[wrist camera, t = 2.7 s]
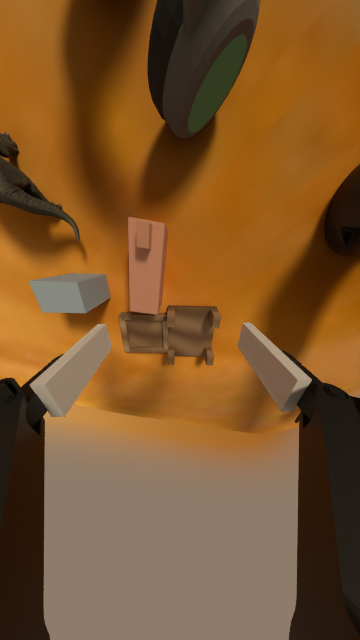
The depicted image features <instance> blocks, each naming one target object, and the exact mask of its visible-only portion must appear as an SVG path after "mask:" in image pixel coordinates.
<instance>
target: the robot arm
mask: <svg viewBox="0 0 360 640" xmlns="http://www.w3.org/2000/svg"><path fill="white" fill-rule="evenodd" d="M325 235H326V239H327V242H328V244H329V246H330V247H331V249H332V250H334V251H335V252H337V253H339V254H341V255H348V256H360V165H359V166H358V167H357V168H356V169H355V170H354V171H353V172H352V173H351V174H350V175H349V176H348V177H347V179H346V180H345V181H344V182H343V184H342V185H341V187H340V188H339V190H338V191H337V193H336V195H335V197H334V199H333V201H332V203H331V205H330V208H329V211H328V214H327V218H326V224H325ZM238 348H239V349H240V351H241V352H242V354H243V355H244V357H245V358H246V360H247V361H248V363H249V364H250V366H251V367H252V369H253V370H254V372H255V373H256V375H257V376H258V378H259V379H260V381H261V382H262V384H263V385H264V387H265V388H266V390H267V391H268V393H269V394H270V396H271V397H272V399H273V400H274V402H275V403H276V405H277V406H278V408H279V409H280V411H281V412H283V411H294V409H295V407H296V406H298V407H299V408H300V409H301V412H300V414H299V415H298V417H297V418H296V420H295V423H298V421H299V481H298V546H297V600H296V608H295V612H294V615H293V618H292V621H291V626H290V633H289V640H360V398H357V397H352V396H349V395H348V394H347V393H346V392H344V391H343V390H341V389H340V388H338V387H336V386H334V385H331V384H328V383H322V382H321V381H320V380H319V379H318V378H316V377H315V376H314V375H313V374H312V373H311V372H310V371H309V370H307V369H306V368H305V367H304V366H302V364H301V363H300V362H298V361H297V360H296V359H295V358H294V357H293V356H292V355H290V354H288V353H287V352H285V351H281V350H279V349H278V348H277V347H276V346H275V345H274V344H273V343H272V342H271V341H270V340H269V339H268V338H267V337H265V336H264V335H263V334H262V333H261V332H260V331H259V330H258V329H257V328H256V327H255V326H254V325H253V324H251V323H243V325H242V329H241V333H240V338H239V342H238ZM111 349H112V345H111V341H110V338H109V334H108V330H107V326H106V324H97V325H96V326H95V327H94V328H93V329H92V330H91V331H89V332H88V333H87V334H86V335H85V336H84V337H83V338H82V339H80V340H79V341H78V342H77V343H76V344H75V345H74V346H73V347H71V348H70V349H69V350H68V351H67V352H66V353H65V354H62V355H60V356H58V357H56V358H55V359H53V360H52V361H51V362H50V363H49V364H47V366H45V367H44V368H43V369H42V371H39V372H38V373H37V374H36V375H35V376H33V377H32V378H31V379H30V380H29V381H28V382H26V383H25V384H24V385H23V386H22V387H20V386H19V385H18V383H17V382H16V381H15V379H13V378H4V379H1V380H0V640H50V637H49V633H48V631H47V628H46V625H45V622H44V613H43V612H44V611H43V590H44V589H43V586H44V579H43V578H44V444H45V439H44V437H45V428H44V427H45V420H44V418H43V416H44V414H45V413H46V412H47V411H48V412H49V414H50V415H51V416H52V417H63V416H65V415H66V414H67V413H68V411H69V410H70V408H71V407H72V405H73V404H74V402H75V401H76V400H77V398H78V397H79V395H80V394H81V392H82V391H83V389H84V388H85V386H86V385H87V384H88V382H89V381H90V379H91V378H92V376H93V375H94V373H95V372H96V370H97V369H98V367H99V366H100V365H101V363H102V362H103V360H104V359H105V357H106V356H107V354H108V353H109V351H110V350H111Z"/></svg>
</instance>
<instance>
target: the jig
mask: <svg viewBox="0 0 360 640" xmlns="http://www.w3.org/2000/svg"><path fill="white" fill-rule="evenodd" d="M220 320H221V314H220V313H219V311H218V310H217V307H212V306H173V305H169V306H168V312H167V313H158V315H156V314H149V313H133V312H122V313H121V314H120V315H119V321H120V326H121V332H122V337H123V343H124V348H125V352H143V353H167V352H168V365H174V356H204V358H205V362H206V365H213V359H214V354H213V351H212V348H211V343H212V337H213V331H214V328H219V326H220Z"/></svg>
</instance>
